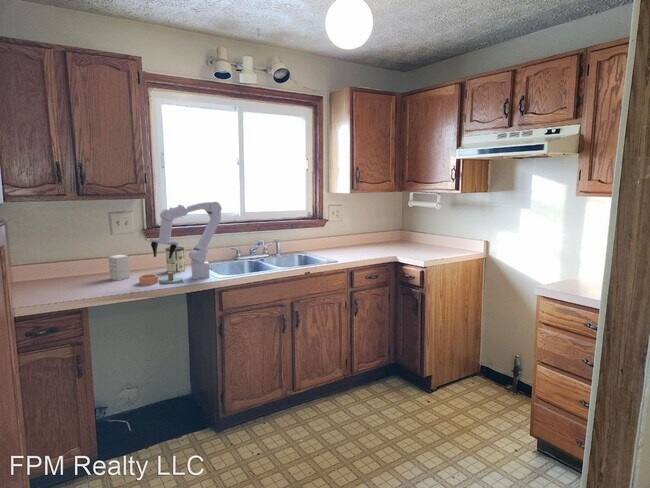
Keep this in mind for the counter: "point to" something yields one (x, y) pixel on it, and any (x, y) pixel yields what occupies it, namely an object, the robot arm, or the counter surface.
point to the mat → (167, 284)
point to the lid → (170, 279)
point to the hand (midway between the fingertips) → (162, 257)
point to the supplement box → (119, 267)
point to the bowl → (148, 279)
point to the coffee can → (175, 260)
